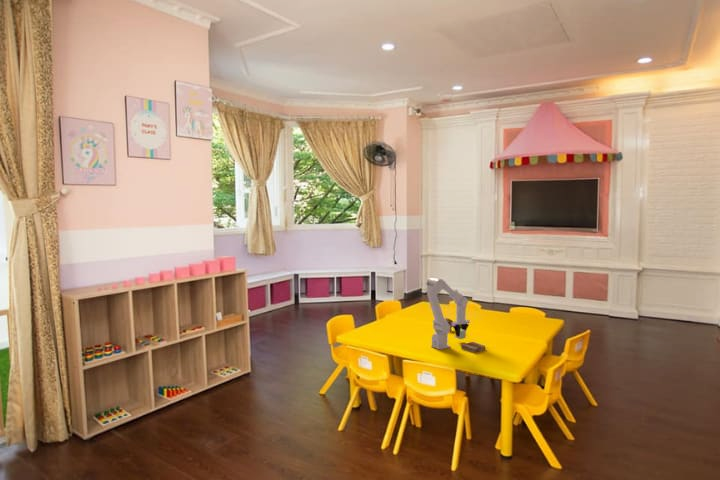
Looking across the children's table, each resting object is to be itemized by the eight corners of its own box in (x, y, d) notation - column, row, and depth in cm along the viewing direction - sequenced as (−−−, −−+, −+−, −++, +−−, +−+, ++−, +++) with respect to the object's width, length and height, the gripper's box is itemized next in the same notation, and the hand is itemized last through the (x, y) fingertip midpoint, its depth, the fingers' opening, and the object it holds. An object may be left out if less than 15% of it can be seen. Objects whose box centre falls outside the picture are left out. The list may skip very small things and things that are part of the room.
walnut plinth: (473, 353, 266) (473, 349, 265) (461, 349, 274) (461, 344, 274) (485, 350, 271) (485, 345, 271) (472, 346, 280) (472, 341, 279)
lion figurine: (443, 331, 311) (443, 318, 311) (444, 329, 316) (444, 316, 316) (464, 333, 306) (464, 320, 305) (465, 331, 311) (465, 318, 310)
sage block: (460, 339, 283) (460, 331, 283) (455, 337, 287) (455, 329, 286) (465, 338, 286) (465, 330, 285) (460, 336, 289) (460, 328, 289)
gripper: (457, 317, 277) (457, 338, 279) (473, 314, 286) (473, 335, 287) (449, 315, 283) (449, 336, 284) (465, 312, 291) (464, 332, 293)
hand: (460, 335), depth 286 cm, fingers closed on sage block, 4 cm apart
